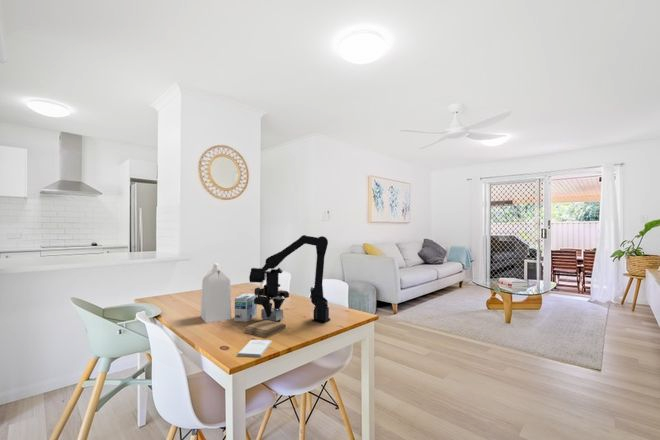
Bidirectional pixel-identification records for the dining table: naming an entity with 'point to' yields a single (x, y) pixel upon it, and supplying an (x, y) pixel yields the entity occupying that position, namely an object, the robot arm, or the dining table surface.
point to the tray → (265, 328)
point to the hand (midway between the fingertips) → (272, 315)
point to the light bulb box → (245, 307)
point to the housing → (273, 314)
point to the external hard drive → (255, 348)
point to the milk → (216, 296)
